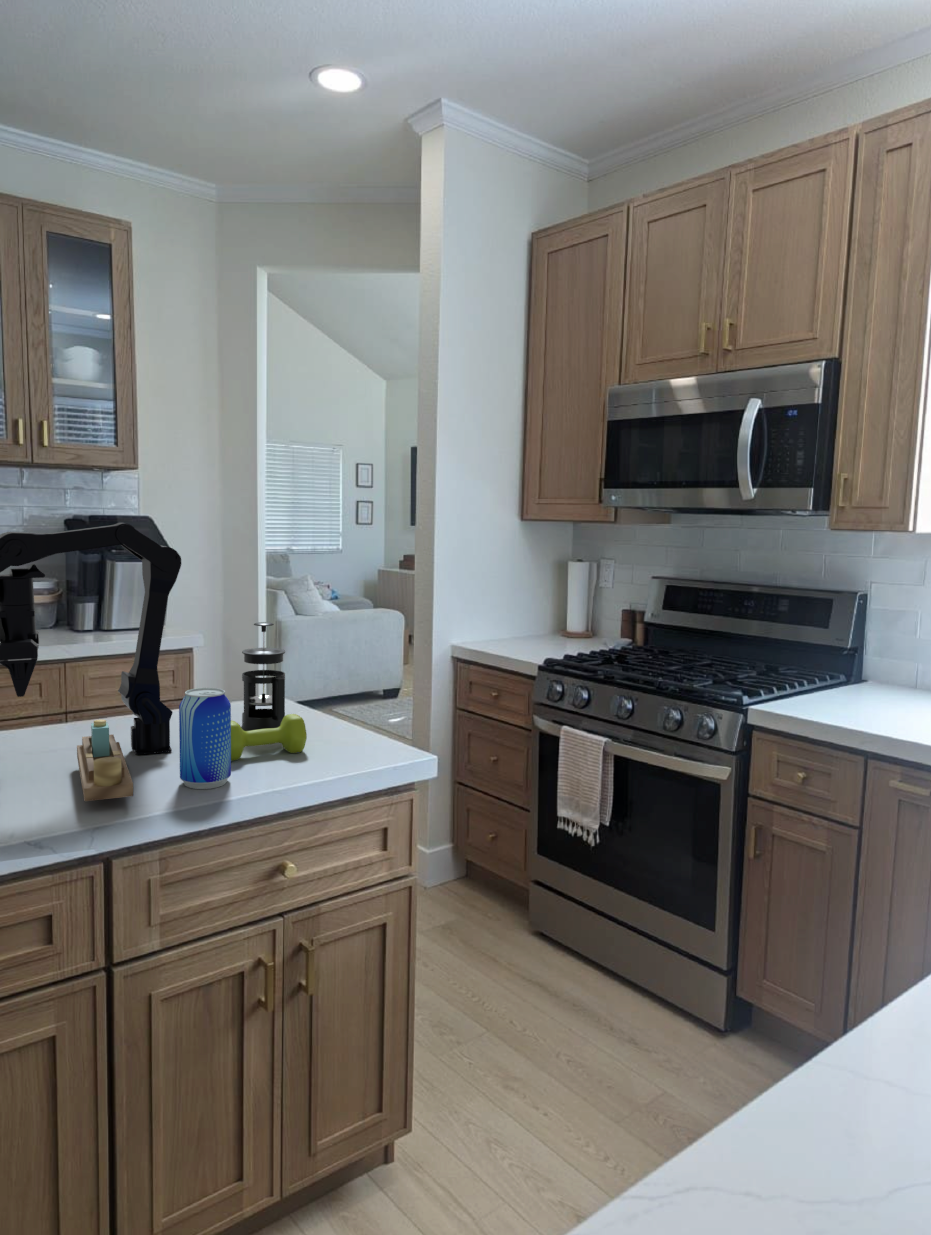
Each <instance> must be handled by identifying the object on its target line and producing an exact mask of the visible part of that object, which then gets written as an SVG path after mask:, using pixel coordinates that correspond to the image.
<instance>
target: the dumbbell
mask: <svg viewBox="0 0 931 1235" xmlns="http://www.w3.org/2000/svg"><path fill="white" fill-rule="evenodd" d="M241 726H242V725H240V724H239V723H238V722H236V721H235V720H233V719H231V762H234V761H238V760H240V759H241V757H242V755H243V751H244V748H246V747H257V746H258V747H259V746H266V745H268V746H269V745H273V744H281V745H282V747H283V749H284V750H285V751H286V752H288V753H291V754H298V753H297V752H299V753H302V751H303V750H304V749H305V746H306V742H307V739H308V738H307V737H308V734H307V728H306V723H305V720H304V718H303V717H302V716H300V715H298V714H296V713H291V714H290V713H289V714H285V716H284V718H283V719H282V722H281V725H280V726H279V727H278V728H267V729H257V730H251V731H244V730H243V729H242V728H241Z"/></svg>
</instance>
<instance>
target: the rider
mask: <svg viewBox="0 0 931 1235" xmlns="http://www.w3.org/2000/svg"><path fill="white" fill-rule="evenodd" d="M90 729H91V731H90V733H91V735H90V736H91V738H92V754H93V757H103V756H110V753H109V735H110V727H109V723H108V722H107V720H106V719H95V720H93V722H92V723H90Z"/></svg>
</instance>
